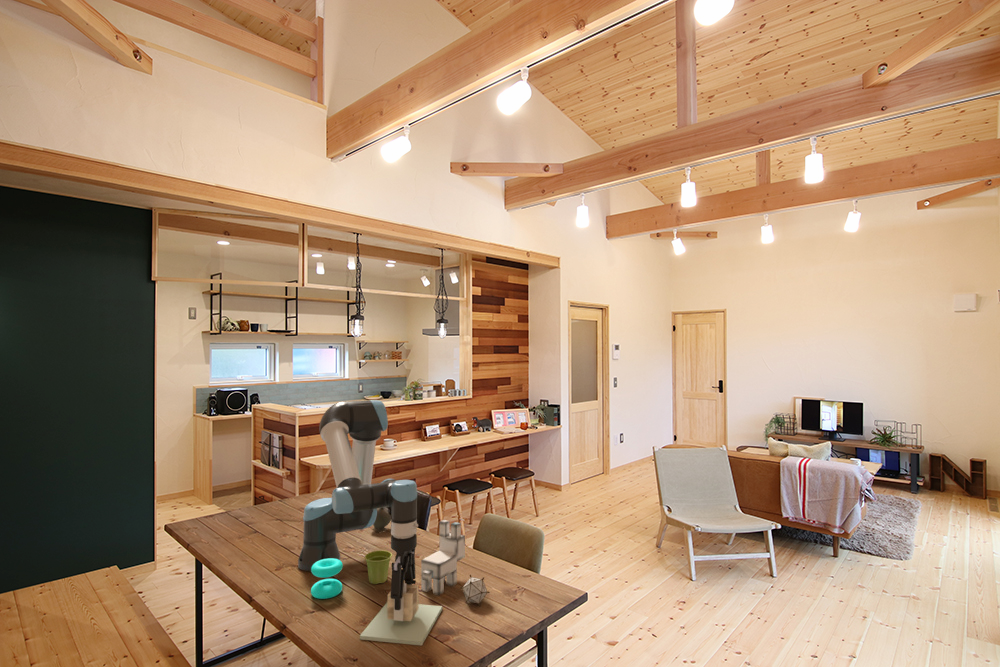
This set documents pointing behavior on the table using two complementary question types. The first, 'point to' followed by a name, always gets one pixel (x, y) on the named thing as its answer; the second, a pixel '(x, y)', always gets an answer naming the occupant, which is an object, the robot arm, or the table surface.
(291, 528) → the table surface
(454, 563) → the toy llama
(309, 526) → the robot arm
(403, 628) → the stand
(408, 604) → the bead
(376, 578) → the plant pot
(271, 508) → the table surface
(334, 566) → the donuts
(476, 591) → the game die
